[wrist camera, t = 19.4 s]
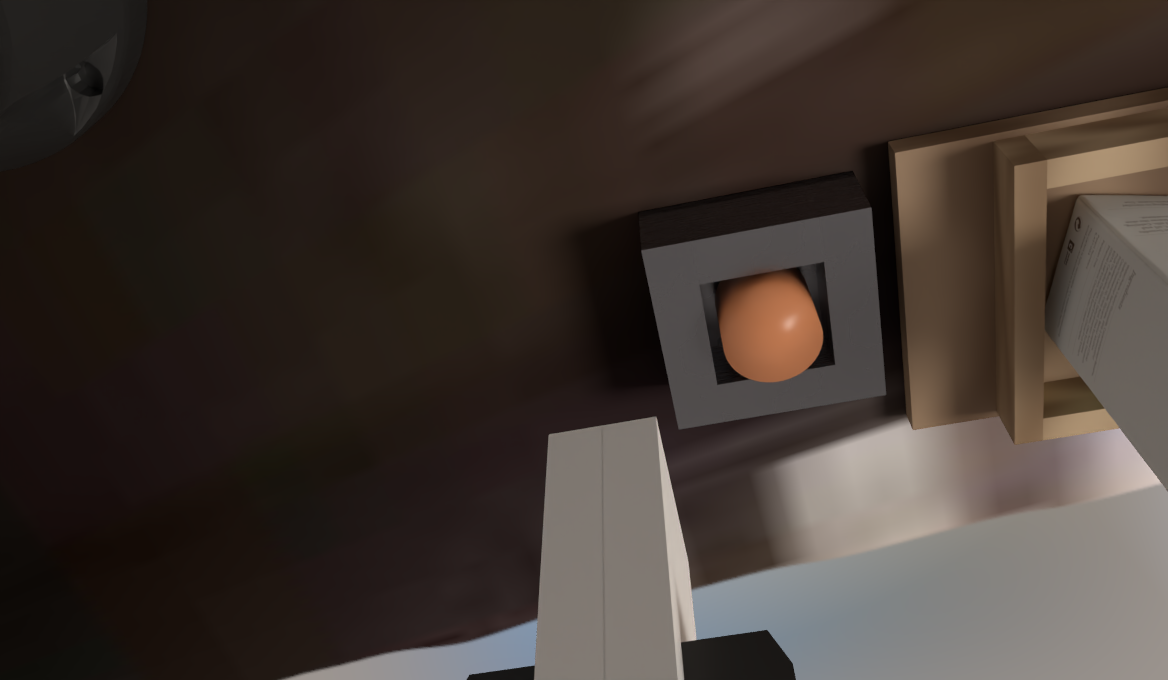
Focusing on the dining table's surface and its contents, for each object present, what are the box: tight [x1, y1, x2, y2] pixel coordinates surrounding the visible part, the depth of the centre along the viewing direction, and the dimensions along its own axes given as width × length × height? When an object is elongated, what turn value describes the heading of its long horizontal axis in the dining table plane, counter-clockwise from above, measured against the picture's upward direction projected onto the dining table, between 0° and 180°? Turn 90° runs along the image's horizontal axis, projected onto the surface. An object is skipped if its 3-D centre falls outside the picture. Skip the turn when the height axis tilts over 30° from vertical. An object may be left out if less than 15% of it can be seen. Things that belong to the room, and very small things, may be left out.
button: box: [715, 267, 823, 382], centre depth 44 cm, size 4×4×4 cm
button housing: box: [638, 171, 886, 429], centre depth 45 cm, size 9×9×4 cm
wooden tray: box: [888, 87, 1168, 445], centre depth 44 cm, size 20×14×4 cm
